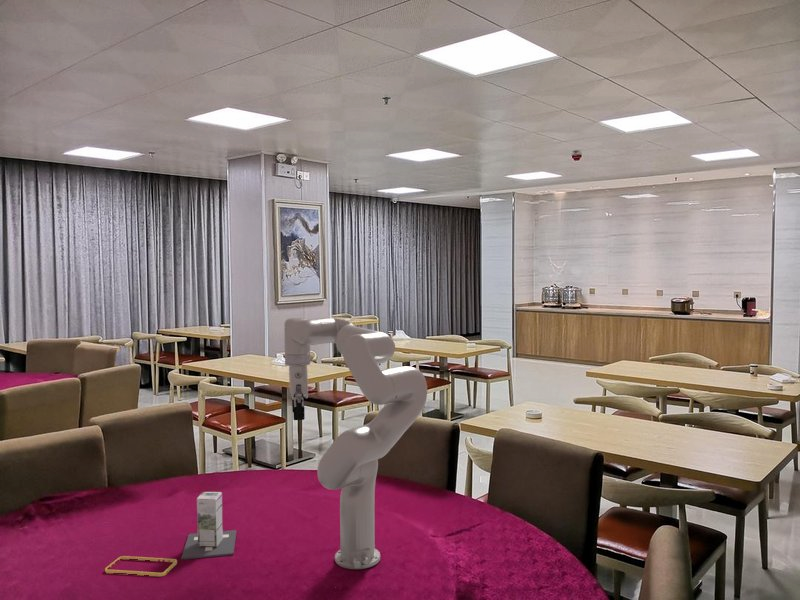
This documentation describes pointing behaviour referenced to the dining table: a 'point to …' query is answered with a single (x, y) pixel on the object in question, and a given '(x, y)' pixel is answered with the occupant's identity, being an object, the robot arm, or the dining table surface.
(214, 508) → the syrup box
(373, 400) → the robot arm
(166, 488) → the dining table surface
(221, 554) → the letter mat
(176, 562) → the phone case
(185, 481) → the dining table surface
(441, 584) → the dining table surface
